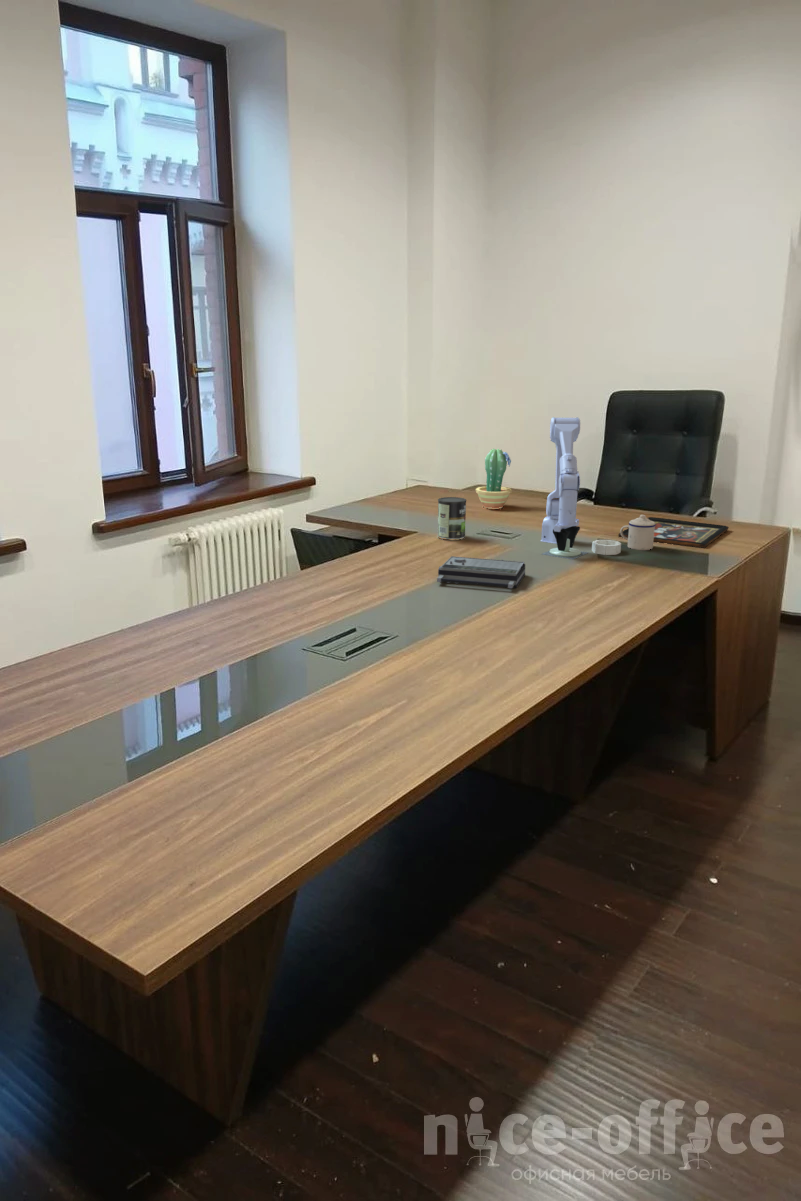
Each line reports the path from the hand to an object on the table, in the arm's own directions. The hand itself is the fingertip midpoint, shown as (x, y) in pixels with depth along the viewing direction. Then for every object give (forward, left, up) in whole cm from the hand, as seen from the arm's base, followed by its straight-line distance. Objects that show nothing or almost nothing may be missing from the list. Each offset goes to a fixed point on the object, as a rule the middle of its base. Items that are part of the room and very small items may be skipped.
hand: (565, 549), depth 303 cm
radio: (-6, -45, -2) cm, 45 cm away
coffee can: (-45, -2, -2) cm, 45 cm away
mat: (0, 0, -2) cm, 2 cm away
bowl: (+10, +11, -2) cm, 15 cm away
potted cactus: (-62, +56, -2) cm, 84 cm away
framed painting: (+18, +54, -3) cm, 57 cm away
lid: (0, 0, -2) cm, 2 cm away
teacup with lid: (+15, +25, -2) cm, 29 cm away
